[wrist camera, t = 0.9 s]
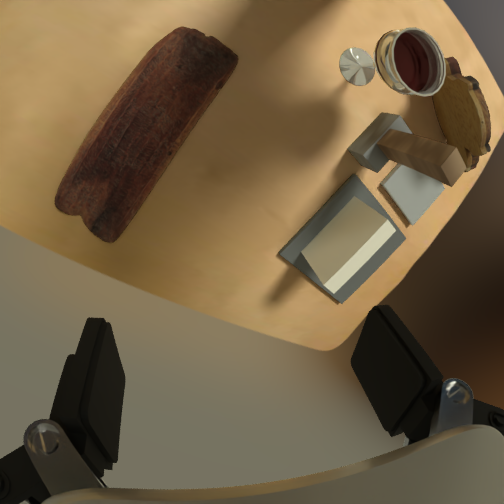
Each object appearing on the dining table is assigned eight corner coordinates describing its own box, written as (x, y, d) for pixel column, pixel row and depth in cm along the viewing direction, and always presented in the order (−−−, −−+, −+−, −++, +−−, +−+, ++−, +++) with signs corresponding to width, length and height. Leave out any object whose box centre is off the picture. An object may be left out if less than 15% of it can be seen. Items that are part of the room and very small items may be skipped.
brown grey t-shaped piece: (381, 112, 34) (467, 130, 21) (394, 129, 35) (478, 154, 22) (347, 148, 36) (425, 182, 23) (361, 165, 37) (438, 205, 24)
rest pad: (415, 143, 37) (419, 144, 36) (441, 187, 40) (444, 188, 40) (380, 183, 38) (383, 184, 38) (409, 223, 42) (412, 225, 42)
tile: (354, 196, 38) (387, 219, 31) (364, 207, 39) (397, 231, 32) (300, 251, 40) (323, 285, 33) (312, 261, 41) (335, 295, 34)
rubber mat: (353, 173, 37) (355, 174, 37) (404, 236, 43) (406, 238, 43) (278, 252, 40) (279, 254, 40) (340, 301, 46) (341, 303, 46)
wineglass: (357, 103, 33) (419, 111, 23) (321, 61, 30) (376, 50, 20) (390, 72, 32) (455, 73, 21) (357, 31, 29) (418, 14, 18)
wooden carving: (462, 154, 39) (508, 172, 30) (444, 166, 39) (491, 186, 30) (431, 53, 31) (483, 53, 22) (410, 61, 31) (463, 61, 22)
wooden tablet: (180, 11, 24) (254, 62, 27) (183, 18, 26) (252, 66, 30) (47, 205, 31) (109, 253, 34) (55, 200, 33) (115, 245, 36)
